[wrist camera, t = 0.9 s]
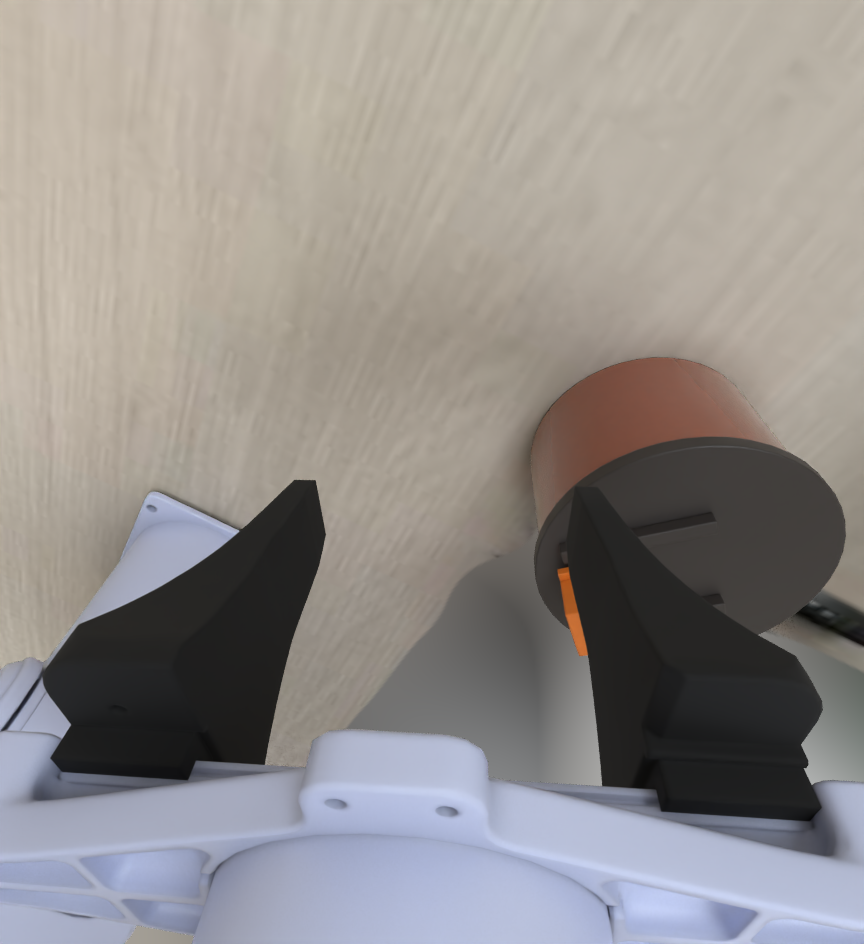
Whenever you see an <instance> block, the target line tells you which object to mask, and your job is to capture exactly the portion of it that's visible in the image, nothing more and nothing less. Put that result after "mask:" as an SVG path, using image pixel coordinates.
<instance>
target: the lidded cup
mask: <svg viewBox="0 0 864 944" xmlns="http://www.w3.org/2000/svg"><path fill="white" fill-rule="evenodd" d="M530 464H531V476H532V484H533V493H534V501H535V510H536V518H537V527H538V539H537V542H536V547H535V555H534V565H535V576H536V582H537V586H538V590H539V593H540V595H541V597H542V599H543V601H544V603H545V604H546V606H547V607H548V609H549V610H550V612H551V613H552V614H553V615H554V616H555V617H556V618H557V619H558V620H559V621H560V622H561V623H562V624H563V625H564V626H566V627H567V628H568V629H570V628H569V625H568V622H567V619H566V616H565V611H564V604H563V598H562V591H561V584H560V580H559V577H558V572H557V569H561V568H566V567H568V558H567V547H566V539H567V532H568V526H569V520H570V514H571V507H572V501H573V495H574V489H575V486H578V487H598V488H599V489H600V490H601V491H602V493H603V494H604V495H605V497H606V498H607V499H608V501H609V502H610V503H611V505H612V506H613V507H614V509H615V510H616V511H617V513H618V514H619V515H620V516H621V518H622V519H623V520H624V521H625V523H626V524H627V525H628V526H629V528H630V529H631V530H632V531H633V532H634V533H635V535H636V536H637V537H638V538H639V539H640V540H641V542H642V543H643V544H644V545H645V546H646V547H647V548H648V549H649V550H650V551H651V553H652V554H653V555H654V556H655V557H656V558H657V559H658V560H659V561H660V562H661V563H662V564H663V565H664V566H665V567H666V568H667V569H668V570H669V571H671V572H672V573H673V574H674V575H675V576H676V577H677V578H679V579H680V580H681V581H682V582H683V583H684V584H685V585H687V586H688V587H689V588H690V589H692V590H693V591H694V592H695V593H697V594H698V595H699V596H701V597H702V598H703V599H705V600H706V601H707V602H709V603H710V604H711V605H713V606H714V607H715V608H717V609H718V610H719V611H721V612H722V613H724V614H725V615H727V616H728V617H730V618H731V619H733V620H734V621H736V622H737V623H739V624H741V625H742V626H744V627H745V628H747V629H749V630H750V631H752V632H753V633H755V634H757V635H758V634H761V633H763V632H765V631H767V630H769V629H771V628H773V627H774V626H776V625H778V624H780V623H782V622H783V621H785V620H786V619H788V618H789V617H791V616H792V615H794V614H795V613H796V612H798V611H799V610H800V609H801V608H803V607H804V606H805V605H806V604H808V603H809V602H810V601H811V600H812V599H813V598H814V597H815V596H816V595H817V594H818V593H819V592H820V591H821V589H822V588H823V587H824V586H825V584H826V583H827V582H828V580H829V579H830V578H831V576H832V574H833V572H834V571H835V569H836V567H837V566H838V563H839V560H840V558H841V555H842V553H843V549H844V543H845V538H846V531H845V518H844V514H843V510H842V507H841V505H840V503H839V501H838V499H837V497H836V495H835V493H834V492H833V491H832V489H831V488H830V487H829V486H828V484H827V483H826V482H825V481H824V479H823V478H822V477H821V476H820V475H819V473H818V472H817V471H815V470H814V469H813V468H812V467H811V466H809V465H808V464H807V463H806V462H805V461H803V460H801V459H800V458H798V457H796V456H794V455H793V454H791V453H789V452H788V451H787V450H786V448H785V447H784V446H783V445H782V443H781V442H780V441H779V440H778V438H777V437H776V436H775V435H774V433H773V432H772V431H771V430H770V428H769V427H768V426H767V425H766V423H765V422H764V421H763V420H762V418H761V417H760V416H759V415H758V413H757V412H756V411H755V410H754V408H753V407H752V406H751V405H750V403H749V402H748V401H747V399H746V398H745V397H744V396H743V394H742V393H741V392H740V391H739V390H738V388H737V387H736V386H735V385H734V384H733V383H732V382H731V381H730V380H728V379H727V378H726V377H725V376H723V375H722V374H720V373H718V372H717V371H715V370H713V369H711V368H709V367H706V366H704V365H702V364H699V363H695V362H692V361H688V360H683V359H675V358H645V359H636V360H632V361H627V362H623V363H619V364H616V365H613V366H610V367H608V368H605V369H603V370H601V371H598V372H596V373H594V374H592V375H590V376H588V377H587V378H585V379H583V380H582V381H580V382H579V383H577V384H576V385H574V386H573V387H572V388H571V389H569V390H568V391H567V392H565V393H564V394H563V395H562V396H561V397H560V398H559V399H558V400H557V401H556V402H555V403H554V405H553V406H552V407H551V408H550V410H549V411H548V412H547V413H546V415H545V417H544V418H543V420H542V422H541V423H540V425H539V427H538V429H537V432H536V434H535V437H534V440H533V444H532V448H531V457H530Z"/></svg>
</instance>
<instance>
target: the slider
mask: <svg viewBox="0 0 864 944" xmlns="http://www.w3.org/2000/svg"><path fill="white" fill-rule="evenodd" d="M557 572H558V577H559V580H560V584H561V591H562V598H563V604H564V611H565V616H566V619H567V622H568V625H569V628H570V631H571V634H572V636H573V640H574V643H575V645H576V648H577V651H578V654H579V656H584V655H588V653H587V648H586V643H585V638H584V634H583V630H582V626H581V622H580V618H579V613H578V609H577V605H576V601H575V597H574V592H573V588H572V584H571V579H570V575H569V567H566V568H561V569H557Z"/></svg>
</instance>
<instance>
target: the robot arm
mask: <svg viewBox="0 0 864 944" xmlns="http://www.w3.org/2000/svg"><path fill="white" fill-rule="evenodd" d="M152 505H153V506H154V507H153V506H152ZM325 536H326V533H325V528H324V522H323V517H322V512H321V506H320V501H319V496H318V490H317V485H316V480H294V481H293V482H292V483H291V484H290V485H289V486H288V487H287V488H285V489H284V490H283V491H282V492H281V493H280V494H279V495H278V496H277V497H276V498H275V499H274V500H273V501H272V502H271V503H270V504H269V505H268V506H267V507H266V508H265V509H264V510H263V511H262V512H261V513H259V514H258V515H257V516H256V517H255V518H254V519H253V520H252V521H251V522H250V523H249V524H248V525H246V526H245V527H244V528H243V529H242V530H241V531H239V530H237V529H235V528H233V527H231V526H229V525H226V524H224V523H222V522H220V521H218V520H216V519H214V518H212V517H210V516H208V515H205V514H203V513H201V512H199V511H197V510H195V509H193V508H191V507H189V506H187V505H184V504H182V503H180V502H178V501H176V500H174V499H172V498H170V497H168V496H166V495H163V494H161V493H159V492H150V493H149V494H148V495H147V496H146V498H145V500H144V502H143V505H142V507H141V510H140V512H139V514H138V517H137V519H136V522H135V524H134V527H133V529H132V531H131V534H130V536H129V539H128V541H127V543H126V546H125V548H124V551H123V553H122V556H121V558H120V560H119V563H118V565H117V566H116V567H115V569H114V570H113V571H112V573H111V574H110V575H109V577H108V578H107V579H106V581H105V582H104V584H103V585H102V586H101V588H100V589H99V590H98V592H97V593H96V594H95V596H94V597H93V598H92V600H91V601H90V602H89V604H88V605H87V606H86V608H85V609H84V611H83V612H82V613H81V615H80V616H79V617H78V619H77V620H76V621H75V623H74V624H73V625H72V627H71V628H70V629H69V631H68V632H67V634H66V635H65V636H64V638H63V639H62V640H61V642H60V643H59V644H58V646H57V647H56V648H55V650H54V651H53V652H52V654H51V655H50V657H49V658H48V659H47V660H46V661H44V662H41V661H39V660H37V659H35V658H33V657H28V658H26V659H24V660H23V661H18V662H14V663H10V664H7V665H5V666H4V667H3V668H2V669H0V944H125V942H126V941H127V940H128V939H129V938H130V936H131V935H132V933H133V931H134V930H135V928H136V926H143V927H148V928H153V929H159V930H164V931H169V932H175V933H180V934H186V935H191V936H194V939H193V942H192V944H864V782H855V781H838V780H828V781H821V782H817V783H814V784H813V785H811V783H810V781H809V779H808V777H807V775H806V773H805V770H804V768H807V766H808V759H807V757H806V755H805V753H804V751H803V749H802V746H801V744H802V742H803V741H804V739H805V738H806V737H807V735H808V734H809V732H810V731H811V730H812V728H813V727H814V725H815V724H816V723H817V721H818V719H819V717H820V715H821V713H822V710H823V709H822V700H821V698H820V696H819V695H818V693H817V691H816V689H815V687H814V685H813V683H812V681H811V680H810V678H809V676H808V674H807V673H806V671H805V670H804V668H803V667H802V665H801V664H800V662H799V661H798V659H797V657H796V656H795V655H793V654H791V653H789V652H787V651H785V650H784V649H782V648H780V647H778V646H777V645H775V644H773V643H771V642H769V641H767V640H766V639H764V638H762V637H760V636H758V635H757V634H755V633H753V632H752V631H750V630H749V629H747V628H745V627H744V626H742V625H741V624H739V623H737V622H736V621H734V620H733V619H731V618H730V617H728V616H727V615H725V614H724V613H722V612H721V611H719V610H718V609H717V608H715V607H714V606H713V605H711V604H710V603H709V602H707V601H706V600H705V599H703V598H702V597H701V596H699V595H698V594H697V593H695V592H694V591H693V590H692V589H690V588H689V587H688V586H687V585H685V584H684V583H683V582H682V581H681V580H680V579H679V578H677V577H676V576H675V575H674V574H673V573H672V572H671V571H669V570H668V569H667V568H666V567H665V566H664V565H663V564H662V563H661V562H660V561H659V560H658V559H657V558H656V557H655V556H654V555H653V554H652V553H651V551H650V550H649V549H648V548H647V547H646V546H645V545H644V544H643V543H642V542H641V540H640V539H639V538H638V537H637V536H636V535H635V533H634V532H633V531H632V530H631V529H630V528H629V526H628V525H627V524H626V523H625V521H624V520H623V519H622V518H621V516H620V515H619V514H618V513H617V511H616V510H615V509H614V507H613V506H612V505H611V503H610V502H609V501H608V499H607V498H606V497H605V495H604V494H603V493H602V491H601V490H600V489H599V488H598V487H578V486H575V489H574V495H573V501H572V507H571V514H570V520H569V526H568V532H567V539H566V547H567V558H568V567H569V575H570V579H571V584H572V588H573V592H574V597H575V601H576V605H577V609H578V613H579V618H580V622H581V626H582V630H583V634H584V638H585V643H586V648H587V653H588V658H589V665H590V672H591V681H592V689H593V697H594V706H595V715H596V723H597V733H598V743H599V752H600V764H601V775H602V786H590V785H589V786H588V785H574V784H558V783H542V782H526V781H510V780H501V779H498V778H494V777H490V776H488V761H487V758H486V756H485V754H484V752H483V750H482V749H481V748H479V747H478V746H477V745H475V744H473V743H471V742H470V741H468V740H466V739H465V738H460V737H454V736H449V735H444V734H427V733H409V732H392V731H375V730H358V729H343V730H332V731H328V732H326V733H325V734H323V735H321V736H319V737H318V738H316V739H314V740H313V741H312V745H311V749H310V753H309V757H308V761H307V765H306V768H305V767H289V766H273V765H265V759H266V754H267V748H268V743H269V738H270V733H271V728H272V723H273V718H274V713H275V709H276V704H277V700H278V695H279V691H280V686H281V682H282V678H283V674H284V670H285V666H286V662H287V658H288V654H289V649H290V646H291V642H292V639H293V636H294V633H295V630H296V627H297V625H298V622H299V619H300V616H301V614H302V611H303V608H304V606H305V603H306V600H307V598H308V595H309V592H310V589H311V587H312V584H313V581H314V578H315V576H316V573H317V570H318V567H319V564H320V559H321V555H322V551H323V546H324V541H325Z"/></svg>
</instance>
